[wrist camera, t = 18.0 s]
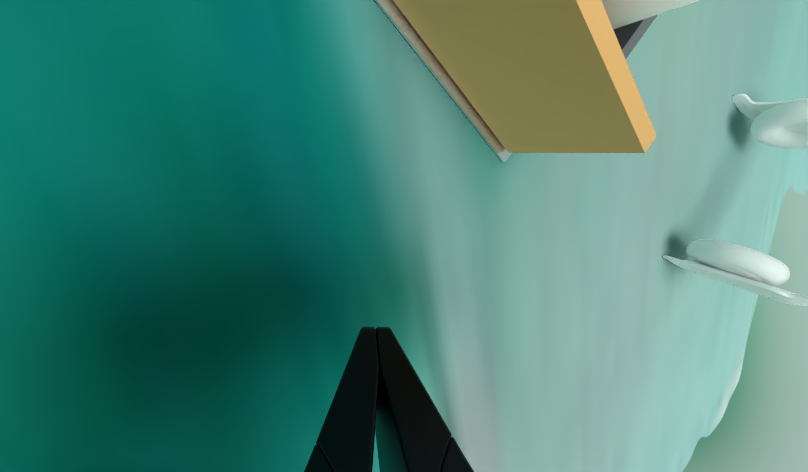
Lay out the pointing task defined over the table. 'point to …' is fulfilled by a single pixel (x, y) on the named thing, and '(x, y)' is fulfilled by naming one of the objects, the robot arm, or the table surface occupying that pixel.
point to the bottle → (638, 9)
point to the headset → (743, 266)
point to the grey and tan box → (541, 71)
